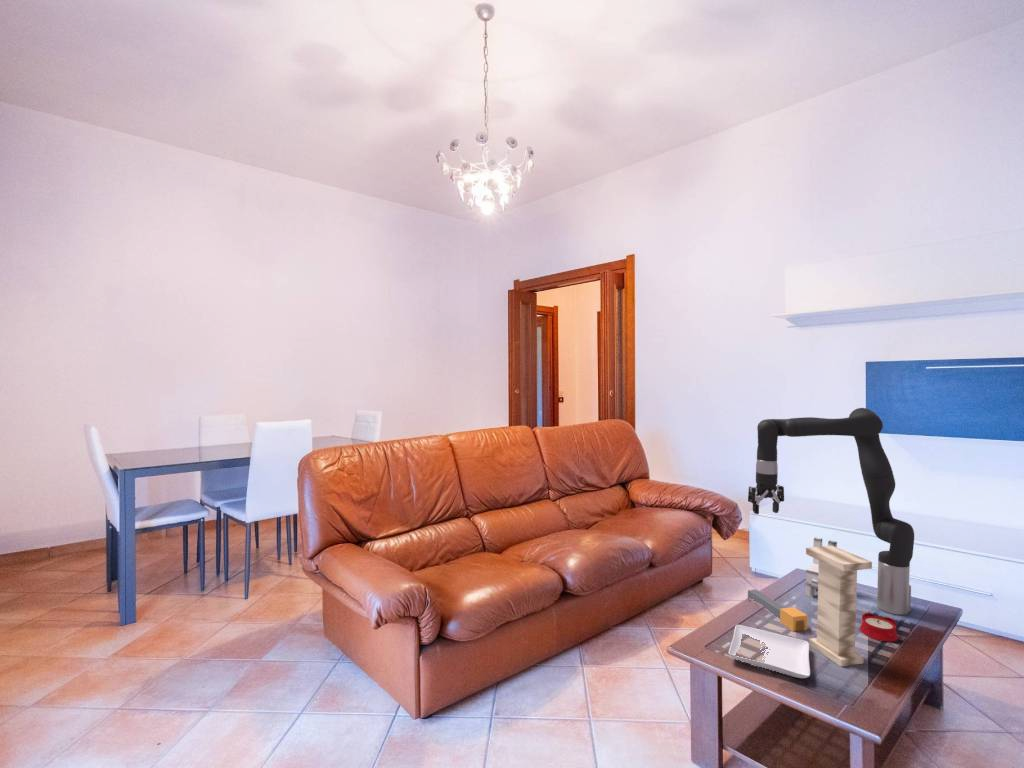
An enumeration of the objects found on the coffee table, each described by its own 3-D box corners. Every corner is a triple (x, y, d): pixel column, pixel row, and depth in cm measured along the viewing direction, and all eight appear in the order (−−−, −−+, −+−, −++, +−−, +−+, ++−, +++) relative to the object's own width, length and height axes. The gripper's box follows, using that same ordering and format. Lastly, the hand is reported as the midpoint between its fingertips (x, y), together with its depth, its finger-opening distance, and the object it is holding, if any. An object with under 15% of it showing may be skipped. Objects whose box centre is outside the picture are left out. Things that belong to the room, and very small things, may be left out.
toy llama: (803, 597, 194) (804, 546, 194) (815, 584, 207) (817, 535, 206) (825, 604, 189) (827, 551, 188) (837, 589, 201) (838, 540, 201)
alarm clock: (859, 626, 166) (860, 600, 178) (858, 642, 167) (860, 615, 179) (899, 636, 160) (898, 608, 172) (898, 653, 161) (897, 624, 173)
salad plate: (808, 650, 159) (809, 639, 158) (810, 687, 140) (810, 675, 140) (735, 632, 169) (735, 622, 169) (727, 665, 151) (727, 653, 150)
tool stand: (830, 640, 164) (832, 545, 163) (869, 664, 150) (871, 561, 149) (803, 643, 162) (806, 547, 161) (841, 668, 148) (843, 564, 147)
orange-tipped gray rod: (758, 598, 194) (758, 585, 194) (806, 629, 171) (807, 615, 170) (745, 599, 193) (745, 586, 193) (792, 631, 169) (793, 616, 169)
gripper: (757, 474, 190) (756, 517, 190) (789, 472, 193) (788, 514, 194) (744, 470, 197) (743, 511, 198) (775, 468, 200) (774, 509, 201)
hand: (765, 513), depth 196 cm, fingers open, 8 cm apart
